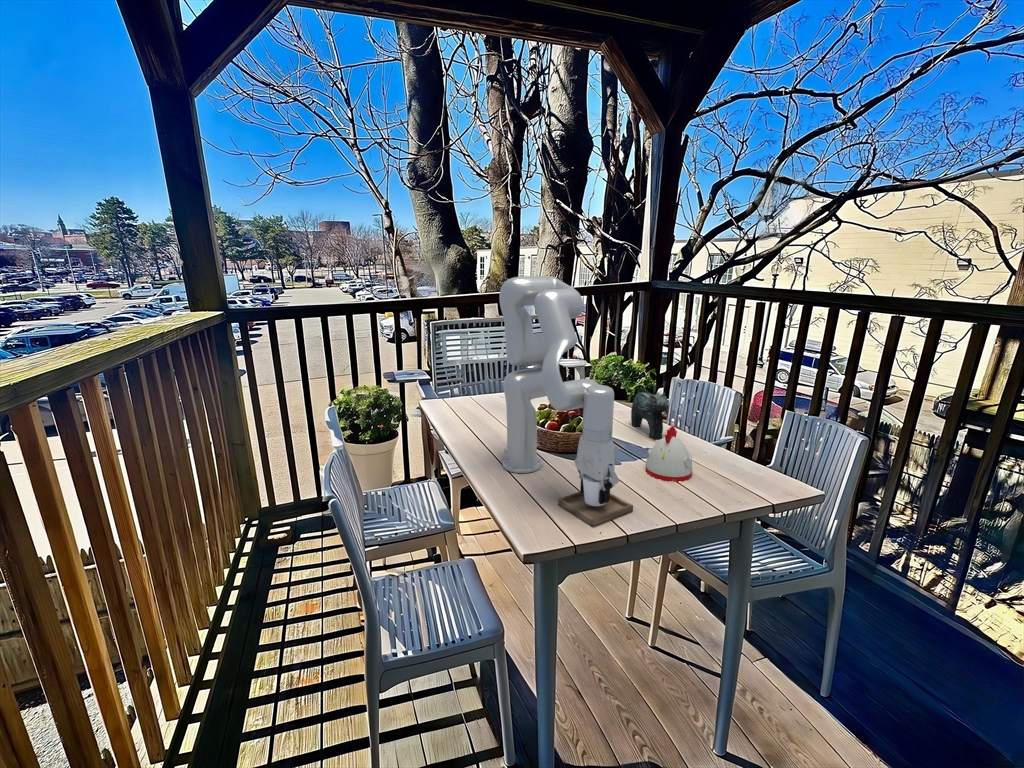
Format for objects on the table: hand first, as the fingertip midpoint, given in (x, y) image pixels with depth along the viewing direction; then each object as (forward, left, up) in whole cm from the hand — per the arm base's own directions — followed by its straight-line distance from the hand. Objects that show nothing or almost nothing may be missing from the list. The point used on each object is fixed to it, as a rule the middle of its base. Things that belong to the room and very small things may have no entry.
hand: (594, 496), depth 127 cm
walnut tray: (0, 0, -3) cm, 3 cm away
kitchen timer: (-4, +35, -4) cm, 35 cm away
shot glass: (0, 0, -1) cm, 1 cm away
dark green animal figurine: (-33, +58, -4) cm, 66 cm away
